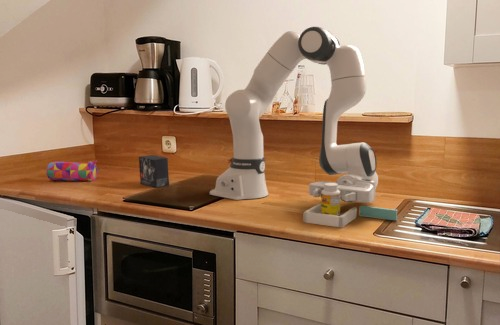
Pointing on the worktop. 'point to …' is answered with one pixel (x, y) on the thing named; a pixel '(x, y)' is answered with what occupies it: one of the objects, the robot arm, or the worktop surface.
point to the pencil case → (72, 171)
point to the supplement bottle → (330, 199)
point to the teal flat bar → (378, 212)
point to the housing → (328, 217)
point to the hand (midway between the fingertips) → (329, 196)
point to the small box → (154, 171)
